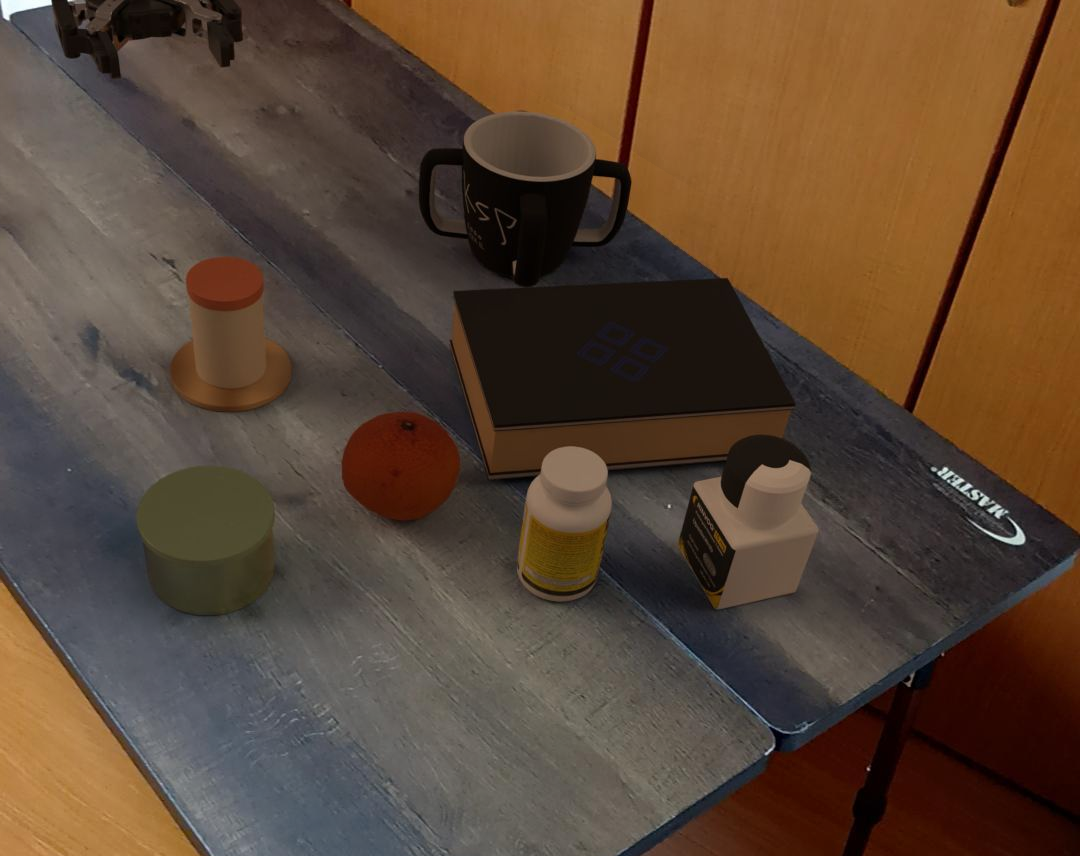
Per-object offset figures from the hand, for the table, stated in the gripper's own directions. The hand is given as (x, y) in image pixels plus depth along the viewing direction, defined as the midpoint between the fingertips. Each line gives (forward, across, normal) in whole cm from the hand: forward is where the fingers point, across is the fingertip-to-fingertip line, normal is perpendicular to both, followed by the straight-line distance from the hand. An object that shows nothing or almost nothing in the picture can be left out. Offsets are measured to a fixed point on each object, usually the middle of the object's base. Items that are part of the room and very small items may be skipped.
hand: (171, 61), depth 102 cm
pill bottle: (+41, +16, +23) cm, 50 cm away
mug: (+2, +31, +22) cm, 38 cm away
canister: (+11, 0, +22) cm, 24 cm away
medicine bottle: (+46, +30, +23) cm, 59 cm away
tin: (+32, -8, +23) cm, 40 cm away
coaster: (+11, 0, +22) cm, 25 cm away
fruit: (+30, +8, +23) cm, 38 cm away
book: (+25, +29, +22) cm, 45 cm away
